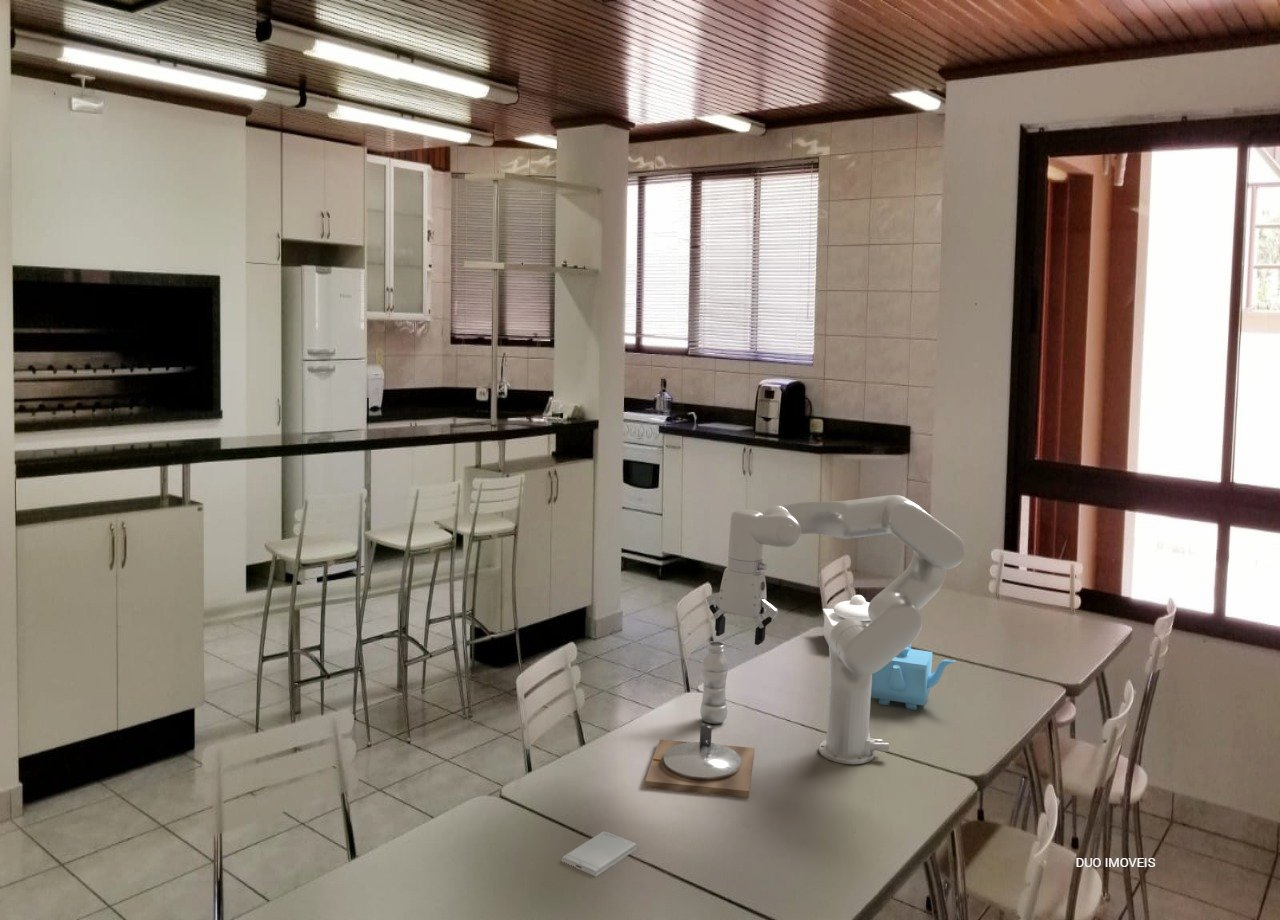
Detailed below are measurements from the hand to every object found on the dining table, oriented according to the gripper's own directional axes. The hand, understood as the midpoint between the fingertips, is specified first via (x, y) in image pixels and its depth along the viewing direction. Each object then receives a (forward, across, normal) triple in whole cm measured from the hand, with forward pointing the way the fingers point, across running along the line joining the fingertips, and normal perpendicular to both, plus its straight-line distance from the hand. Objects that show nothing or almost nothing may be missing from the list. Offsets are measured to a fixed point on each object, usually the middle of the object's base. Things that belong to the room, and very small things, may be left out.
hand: (739, 639), depth 236 cm
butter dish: (+26, +3, -94) cm, 97 cm away
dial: (+26, +2, +11) cm, 28 cm away
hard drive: (+29, +1, +54) cm, 61 cm away
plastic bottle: (+28, +12, -15) cm, 34 cm away
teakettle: (+26, -23, -56) cm, 66 cm away
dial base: (+28, +2, +11) cm, 30 cm away
